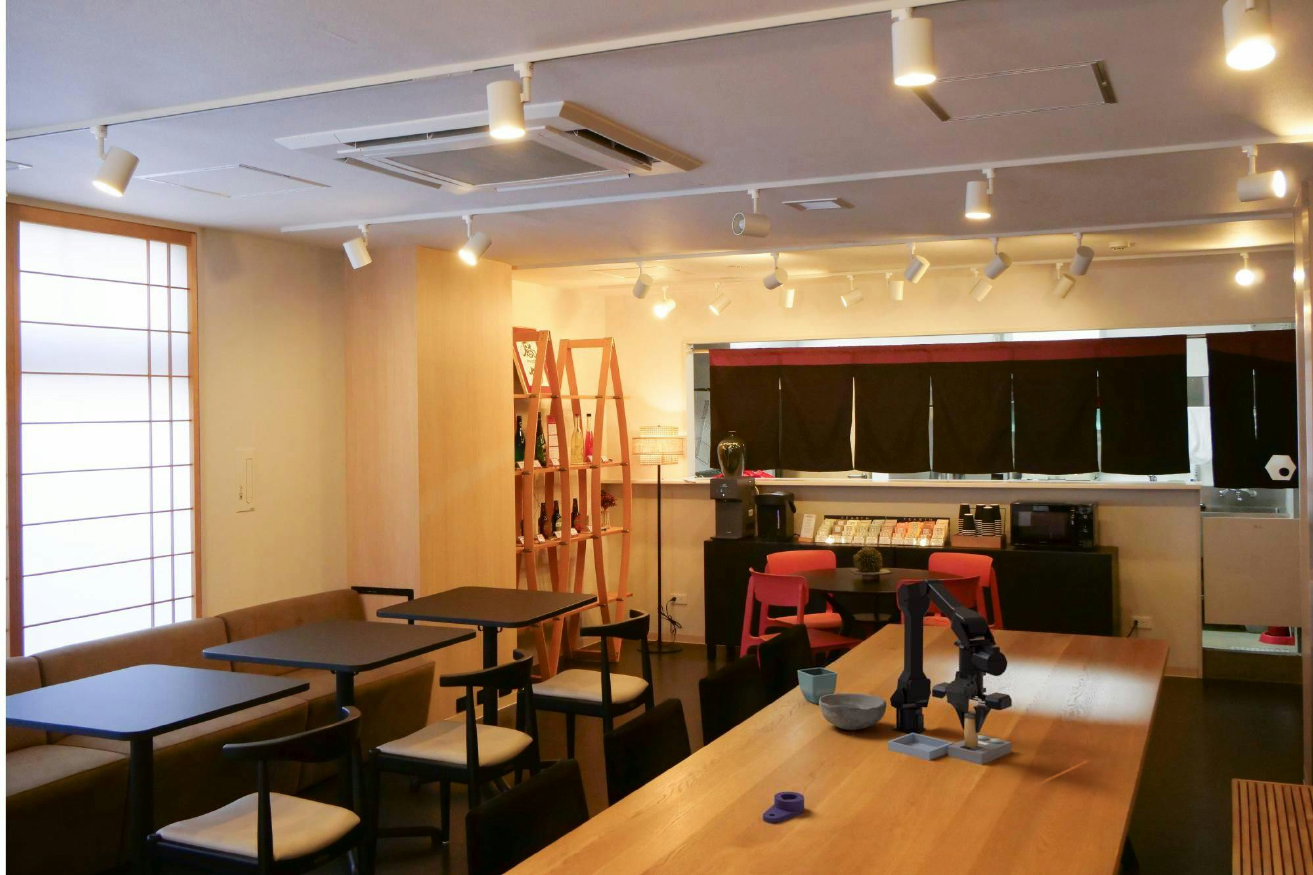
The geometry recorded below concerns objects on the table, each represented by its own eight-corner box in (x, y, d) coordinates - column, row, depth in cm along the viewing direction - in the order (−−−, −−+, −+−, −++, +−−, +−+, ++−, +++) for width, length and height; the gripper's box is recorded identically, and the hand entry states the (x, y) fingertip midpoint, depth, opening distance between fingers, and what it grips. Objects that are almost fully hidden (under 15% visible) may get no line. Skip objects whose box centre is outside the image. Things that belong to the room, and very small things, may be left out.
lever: (784, 804, 230) (784, 789, 230) (809, 810, 226) (809, 795, 226) (754, 820, 220) (754, 805, 220) (780, 827, 216) (780, 811, 216)
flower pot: (796, 699, 317) (796, 669, 317) (821, 696, 321) (821, 666, 321) (813, 706, 309) (812, 675, 309) (838, 703, 313) (838, 672, 313)
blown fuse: (961, 745, 259) (961, 712, 258) (968, 742, 261) (968, 710, 261) (973, 748, 256) (973, 715, 256) (981, 745, 258) (981, 712, 258)
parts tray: (887, 751, 266) (887, 741, 266) (912, 742, 273) (912, 732, 273) (929, 762, 257) (929, 751, 257) (953, 752, 264) (953, 742, 264)
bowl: (882, 719, 295) (882, 690, 295) (890, 737, 277) (890, 707, 277) (817, 718, 297) (817, 689, 297) (820, 736, 279) (820, 706, 279)
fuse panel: (948, 758, 260) (948, 743, 260) (978, 746, 269) (978, 732, 269) (981, 766, 253) (981, 752, 253) (1010, 754, 263) (1010, 740, 263)
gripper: (919, 666, 260) (919, 729, 260) (988, 679, 246) (988, 746, 246) (944, 659, 267) (944, 721, 267) (1012, 671, 254) (1013, 736, 254)
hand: (971, 731), depth 258 cm, fingers closed on blown fuse, 3 cm apart
